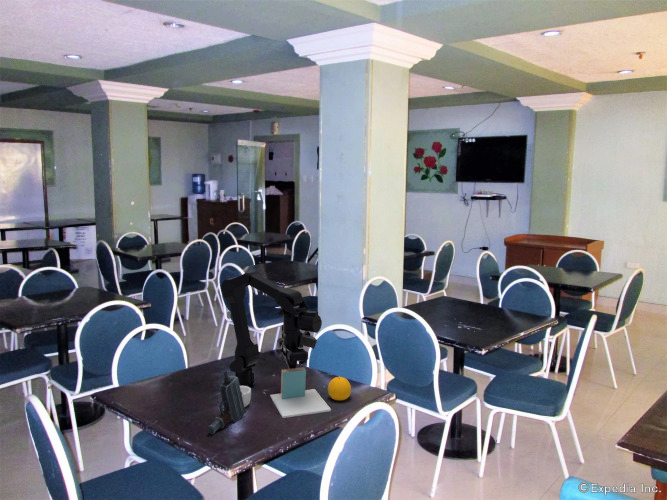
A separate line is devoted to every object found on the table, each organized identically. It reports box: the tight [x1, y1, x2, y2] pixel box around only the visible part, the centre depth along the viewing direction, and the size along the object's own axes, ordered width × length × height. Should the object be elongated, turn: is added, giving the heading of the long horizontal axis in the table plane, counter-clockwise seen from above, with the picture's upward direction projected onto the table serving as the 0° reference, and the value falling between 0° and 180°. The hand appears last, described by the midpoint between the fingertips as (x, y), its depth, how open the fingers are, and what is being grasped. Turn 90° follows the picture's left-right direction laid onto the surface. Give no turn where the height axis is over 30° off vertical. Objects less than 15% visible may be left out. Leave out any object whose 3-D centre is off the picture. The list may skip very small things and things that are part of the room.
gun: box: [207, 370, 248, 436], centre depth 162 cm, size 3×17×15 cm
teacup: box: [240, 386, 252, 408], centre depth 177 cm, size 10×8×5 cm
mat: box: [269, 388, 332, 419], centre depth 180 cm, size 16×18×1 cm
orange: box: [327, 376, 352, 401], centre depth 184 cm, size 8×8×8 cm
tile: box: [280, 366, 307, 399], centre depth 183 cm, size 8×2×10 cm, turn 109°
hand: (292, 373), depth 184 cm, fingers closed
